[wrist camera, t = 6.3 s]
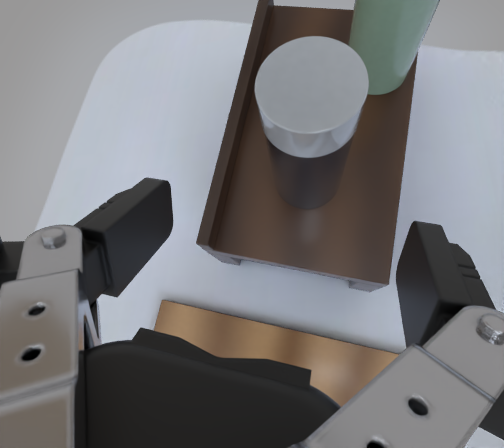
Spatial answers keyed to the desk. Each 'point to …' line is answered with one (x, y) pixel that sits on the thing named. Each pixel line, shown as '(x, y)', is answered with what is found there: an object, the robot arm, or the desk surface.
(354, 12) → the salt shaker
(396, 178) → the walnut shelf
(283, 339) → the wooden board
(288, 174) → the pepper shaker
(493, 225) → the desk surface
